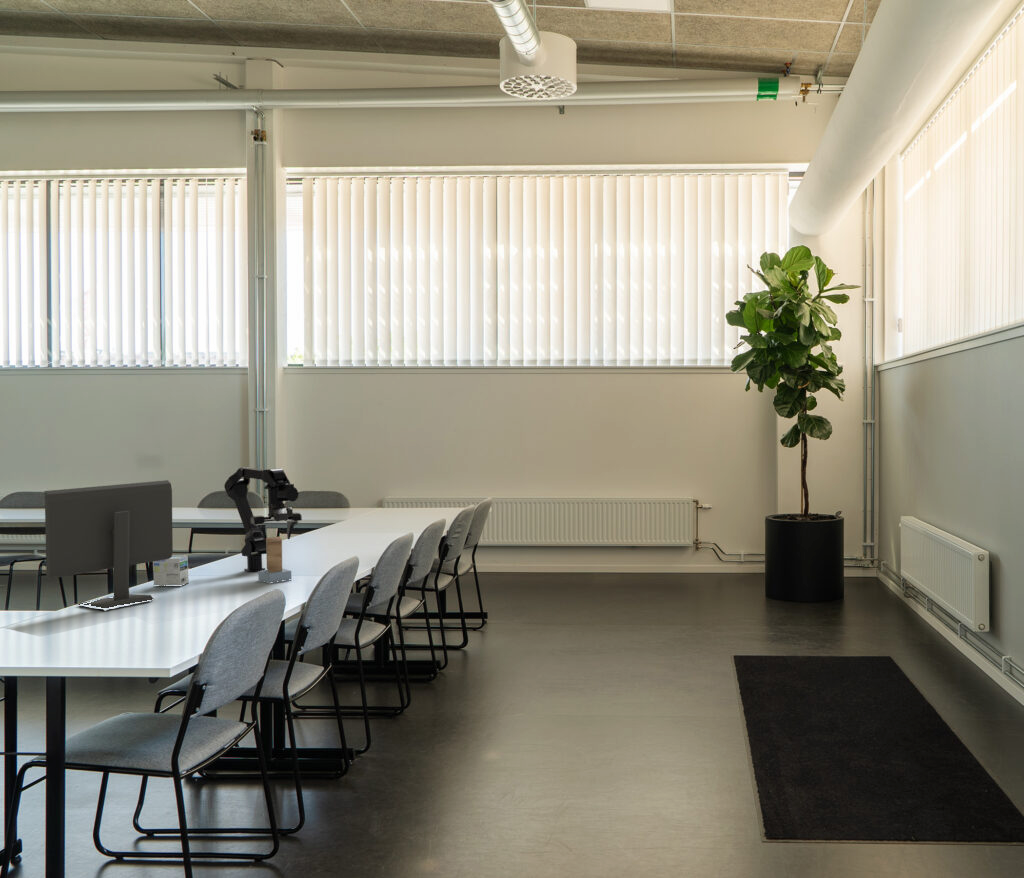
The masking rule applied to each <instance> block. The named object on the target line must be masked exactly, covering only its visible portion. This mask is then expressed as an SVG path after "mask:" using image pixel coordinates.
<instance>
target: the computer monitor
mask: <svg viewBox="0 0 1024 878" xmlns="http://www.w3.org/2000/svg"><path fill="white" fill-rule="evenodd" d="M44 516H45V517H44V521H45V522H44V525H45V526H44V527H45V569H46V570H45V572H46V573H45V575H46V577H45V578H46V580H51V579H52V580H53V579H57V578H63V577H68V576H69V577H70V576H75V575H81V574H87V573H93V572H98V571H105V570H110V569H113V596H112V597H113V598H109V597H110V596H109V597H104V598H99V599H100V600H98V599H96V600H97V601H94V602H91V603H87V602H90V601H91V600H88V601H83V602H80V603H78V604H77V606H78V605H80V604H83V603H87V604H84V605H89V604H91V606H96V607H101V608H109V607H114V606H117V605H124V604H130V603H135V602H142V601H147V600H152V599H154V597H153V596H152V595H151V594H133V593H132V594H130V566H134V565H140V564H147V563H151V562H152V563H153V561H159V560H165V559H169V558H171V557H172V556H173V552H174V551H173V550H174V549H173V543H174V542H173V488H172V483H171V482H170V480H168V479H167V480H166V479H165V480H156V481H143V482H135V483H134V482H133V483H121V484H110V485H100V486H99V485H98V486H87V487H77V488H75V487H74V488H63V489H53V490H52V489H51V490H44ZM152 601H153V600H152Z"/></svg>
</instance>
